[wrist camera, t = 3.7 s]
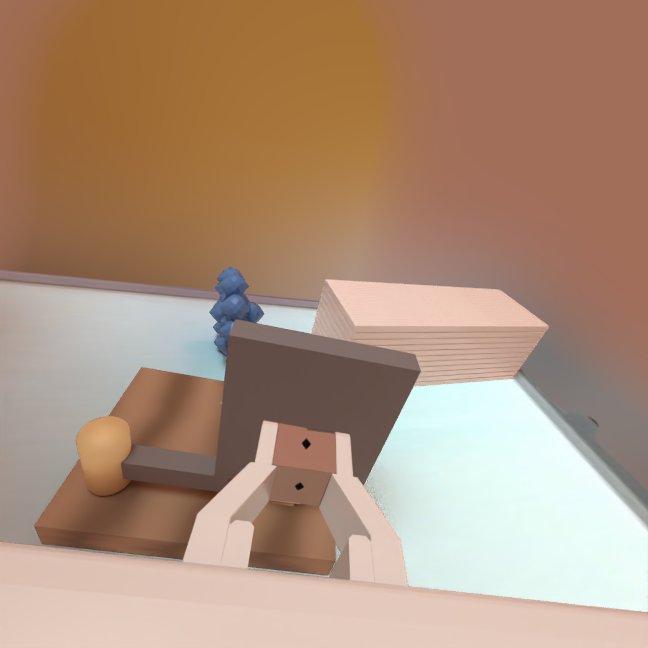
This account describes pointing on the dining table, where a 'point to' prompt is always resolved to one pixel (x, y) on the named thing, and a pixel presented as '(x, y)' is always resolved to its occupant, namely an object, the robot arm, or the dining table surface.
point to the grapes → (232, 306)
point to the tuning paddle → (266, 409)
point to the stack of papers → (433, 327)
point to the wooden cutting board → (177, 488)
